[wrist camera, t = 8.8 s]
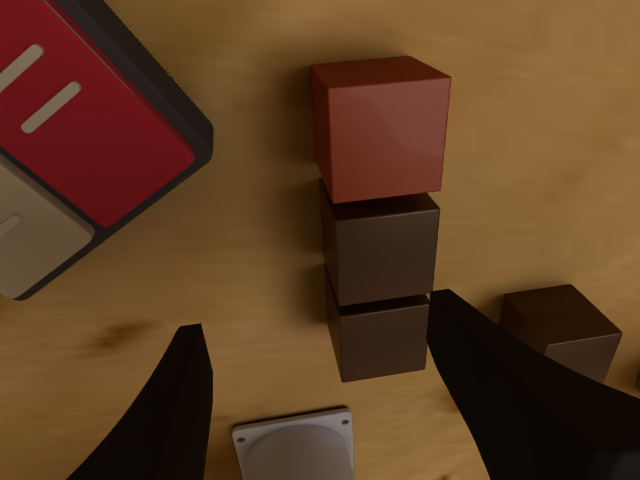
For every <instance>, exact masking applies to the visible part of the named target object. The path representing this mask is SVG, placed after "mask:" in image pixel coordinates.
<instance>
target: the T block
mask: <svg viewBox="0 0 640 480" xmlns="http://www.w3.org/2000/svg"><path fill="white" fill-rule="evenodd" d="M319 195H320V211H321V227H322V243H323V255H324V258H325V262H326V265H327V268H328V272H329V275H330V278H331V282H332V285H333V289H334V292H335V295H336V299H337V302H338V305H339V306H345V305H352V304H359V303H366V302H373V301H379V300H386V299H393V298H400V297H407V296H414V295H421V294H428V293H431V291H433V280H434V270H435V259H436V249H437V238H438V227H439V217H440V208H439V206H438V205H437V204H436V203H435V202H434V201H433V199H432V198H431V197H430V196H429V195H428V194H427V193H418V194H410V195H402V196H394V197H385V198H377V199H369V200H360V201H352V202H344V203H336V204H334V203H332V200H331V198H330V195H329V193H328V190H327V188H326V185H325V183H324V180H323V178H322V179H319Z"/></svg>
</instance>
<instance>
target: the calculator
mask: <svg viewBox="0 0 640 480" xmlns="http://www.w3.org/2000/svg"><path fill="white" fill-rule="evenodd" d="M212 153H213V126H212V124H211V123H210V121H209V120H208V119H207V118H206V117H205V116H204V114H203V113H202V112H201V111H200V110H199V109H198V108H197V106H196V105H195V104H194V103H193V102H192V101H191V100H190V99H189V97H188V96H187V95H186V94H185V93H184V92H183V91H182V89H181V88H180V87H179V86H178V85H177V84H176V83H175V81H174V80H173V79H172V78H171V77H170V76H169V75H168V74H167V72H166V71H165V70H164V69H163V68H162V67H161V66H160V64H159V63H158V62H157V61H156V60H155V59H154V58H153V56H152V55H151V54H150V53H149V52H148V51H147V50H146V49H145V47H144V46H143V45H142V44H141V43H140V42H139V41H138V39H137V38H136V37H135V36H134V35H133V34H132V33H131V31H130V30H129V29H128V28H127V27H126V26H125V25H124V24H123V22H122V21H121V20H120V19H119V18H118V17H117V16H116V14H115V13H114V12H113V11H112V10H111V9H110V8H109V6H108V5H107V4H106V3H105V2H104V1H103V0H0V294H2V295H4V296H6V297H8V298H12V299H14V300H18V301H22V300H26V299H28V298H30V297H31V296H32V295H34V294H35V293H36V292H38V291H39V290H40V289H42V288H43V287H44V286H46V285H47V284H48V283H50V282H51V281H52V280H53V279H55V278H56V277H57V276H59V275H60V274H61V273H63V272H64V271H65V270H67V269H68V268H69V267H71V266H72V265H73V264H75V263H76V262H77V261H79V260H80V259H81V258H82V257H84V256H85V255H86V254H88V253H89V252H90V251H92V250H93V249H94V248H96V247H97V246H98V245H100V244H101V243H102V242H104V241H105V240H106V239H108V238H109V237H110V236H112V235H113V234H114V233H115V232H117V231H118V230H119V229H121V228H122V227H123V226H125V225H126V224H127V223H129V222H130V221H131V220H133V219H134V218H135V217H137V216H138V215H139V214H141V213H142V212H143V211H145V210H146V209H147V208H148V207H150V206H151V205H152V204H154V203H155V202H156V201H158V200H159V199H160V198H162V197H163V196H164V195H166V194H167V193H168V192H170V191H171V190H172V189H174V188H175V187H176V186H178V185H179V184H180V183H181V182H183V181H184V180H185V179H187V178H188V177H189V176H191V175H192V174H193V173H195V172H196V171H197V170H199V169H200V168H201V167H203V166H204V165H205V164H206V163H208V162H209V161H210V159H211V158H212Z"/></svg>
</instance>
